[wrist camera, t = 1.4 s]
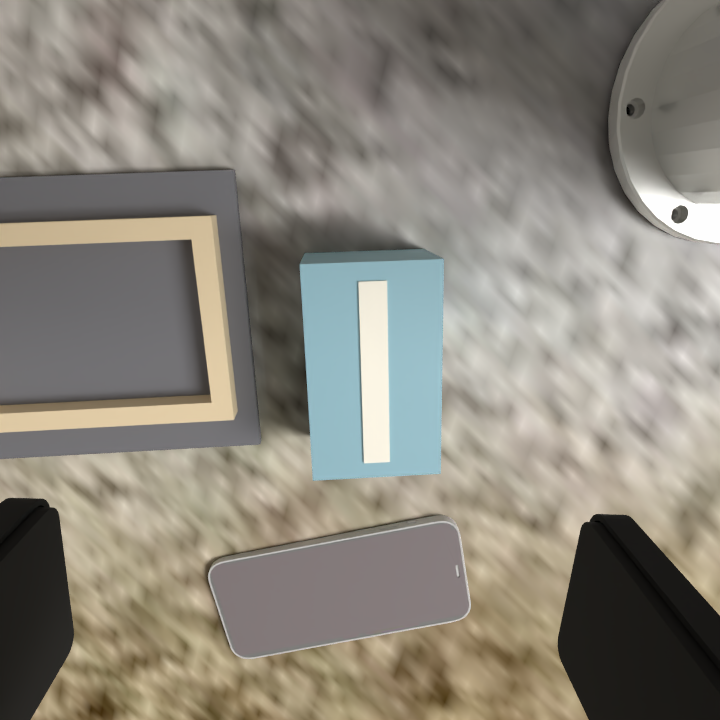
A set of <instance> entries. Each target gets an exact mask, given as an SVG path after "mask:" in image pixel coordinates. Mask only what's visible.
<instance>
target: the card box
mask: <svg viewBox="0 0 720 720" xmlns="http://www.w3.org/2000/svg"><path fill="white" fill-rule="evenodd" d="M300 279H301V295H302V311H303V327H304V344H305V360H306V376H307V392H308V408H309V424H310V440H311V456H312V473H313V481H314V480H333V479H351V478H369V477H388V476H406V475H424V474H441V412H442V349H443V286H444V259H443V258H441V257H439V256H437V255H435V254H433V253H431V252H429V251H428V250H426V249H405V250H376V251H348V252H320V253H304V256H303V258H302V260H301V262H300Z"/></svg>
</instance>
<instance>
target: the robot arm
mask: <svg viewBox="0 0 720 720" xmlns="http://www.w3.org/2000/svg"><path fill="white" fill-rule="evenodd" d="M627 106H628V108H629V110H630V113H629V115H627V112H626V107H627ZM608 129H609V148H610V152H611V157H612V161H613V165H614V170H615V173H616V175H617V177H618V179H619V182H620V184H621V186H622V188H623V191H624V193H625V194H626V195H627V197H628V198H629V200H630V201H631V202H632V204H633V205H634V207H635V208H636V209H637V211H638V212H639V213H641V214H642V215H643V216H644V217H645V218H646V219H647V220H649V221H650V222H651V223H652V224H653V225H654V226H656V227H658V228H660V229H661V230H663V231H665V232H667V233H669V234H671V235H673V236H675V237H679V238H683V239H686V240H690V241H693V242H701V243H710V244H720V0H662V1H661V2H660V3H659V4H658V5H657V6H656V7H655V8H654V9H653V10H652V11H651V12H650V14H649V15H648V16H647V18H646V19H645V21H644V22H643V23H642V25H641V26H640V28H639V29H638V31H637V32H636V33H635V35H634V36H633V38H632V41H631V43H630V45H629V47H628V49H627V51H626V53H625V55H624V57H623V59H622V61H621V63H620V66H619V70H618V73H617V76H616V79H615V83H614V86H613V89H612V94H611V101H610V109H609V116H608ZM671 213H673V214H672V217H671ZM73 637H74V628H73V621H72V613H71V605H70V597H69V590H68V582H67V574H66V566H65V558H64V551H63V543H62V535H61V527H60V519H59V514H58V511H57V509H55V508H50V507H49V504H48V502H47V501H46V500H44V499H32V498H8V499H5V500H4V501H2V502H1V503H0V720H31V718H32V716H33V715H34V713H35V711H36V709H37V708H38V706H39V704H40V703H41V701H42V699H43V697H44V696H45V694H46V692H47V691H48V689H49V687H50V685H51V684H52V682H53V680H54V679H55V677H56V675H57V673H58V672H59V670H60V668H61V667H62V665H63V663H64V662H65V660H66V658H67V656H68V654H69V652H70V650H71V647H72V643H73ZM558 651H559V656H560V659H561V662H562V664H563V666H564V668H565V670H566V673H567V675H568V677H569V679H570V681H571V683H572V685H573V687H574V689H575V691H576V694H577V696H578V698H579V700H580V702H581V704H582V706H583V708H584V710H585V713H586V715H587V717H588V719H589V720H720V616H719V614H718V613H717V612H716V611H715V610H714V609H713V608H712V607H711V606H710V604H709V603H708V602H707V601H706V600H705V599H704V598H703V597H702V596H701V594H700V593H699V592H698V591H697V590H696V589H695V588H694V587H693V586H692V584H691V583H690V582H689V581H688V580H687V579H686V578H685V577H684V576H683V574H682V573H681V572H680V571H679V570H678V569H677V568H676V567H675V566H674V564H673V563H672V562H671V561H670V560H669V559H668V558H667V557H666V556H665V554H664V553H663V552H662V551H661V550H660V549H659V548H658V547H657V546H656V544H655V543H654V542H653V541H652V540H651V539H650V538H649V537H648V536H647V534H646V533H645V532H644V531H643V530H642V529H641V528H640V527H639V526H638V524H637V523H636V522H635V521H634V520H633V519H632V518H631V517H629V516H627V515H609V514H596V515H594V516H593V517H592V518H591V520H590V522H585V523H584V524H583V525H582V527H581V530H580V535H579V540H578V545H577V549H576V554H575V559H574V564H573V569H572V573H571V578H570V583H569V588H568V593H567V598H566V602H565V607H564V612H563V617H562V622H561V626H560V631H559V636H558Z"/></svg>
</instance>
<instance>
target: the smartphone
mask: <svg viewBox="0 0 720 720" xmlns="http://www.w3.org/2000/svg"><path fill="white" fill-rule="evenodd" d="M208 580H209V584H210V587H211V590H212V593H213V596H214V599H215V602H216V605H217V608H218V611H219V614H220V617H221V620H222V623H223V627H224V630H225V633H226V636H227V639H228V642H229V645H230V648H231V650H232V651H233V653H234V654H236V655H237V656H239V657H241V658H244V659H254V658H260V657H265V656H271V655H276V654H282V653H287V652H292V651H298V650H303V649H309V648H314V647H320V646H325V645H331V644H336V643H341V642H347V641H352V640H358V639H363V638H369V637H374V636H380V635H385V634H390V633H396V632H401V631H407V630H412V629H418V628H423V627H429V626H434V625H439V624H445V623H450V622H455V621H459V620H461V619H463V618H464V617H465V616H466V615H467V614H468V613H469V611H470V608H471V602H470V595H469V589H468V582H467V575H466V569H465V562H464V556H463V549H462V543H461V536H460V532H459V529H458V527H457V524H456V522H455V521H454V520H453V519H452V518H450V517H448V516H445V515H435V516H430V517H425V518H419V519H414V520H409V521H404V522H399V523H394V524H389V525H383V526H378V527H373V528H367V529H362V530H357V531H353V532H348V533H343V534H337V535H332V536H327V537H322V538H317V539H312V540H307V541H302V542H296V543H291V544H286V545H281V546H276V547H271V548H266V549H261V550H256V551H250V552H245V553H240V554H235V555H230V556H225V557H222V558H219V559H217V560H216V561H214V562H213V564H212V565H211V567H210V570H209V573H208Z"/></svg>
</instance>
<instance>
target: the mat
mask: <svg viewBox="0 0 720 720" xmlns="http://www.w3.org/2000/svg"><path fill="white" fill-rule="evenodd" d="M260 443H261V432H260V422H259V412H258V402H257V391H256V381H255V371H254V360H253V350H252V340H251V330H250V319H249V309H248V299H247V289H246V278H245V268H244V258H243V247H242V237H241V227H240V217H239V206H238V196H237V186H236V176H235V170H210V171H180V172H151V173H121V174H92V175H62V176H32V177H3V178H0V459H9V458H27V457H44V456H62V455H80V454H98V453H116V452H134V451H151V450H169V449H187V448H205V447H223V446H241V445H258V444H260Z"/></svg>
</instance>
